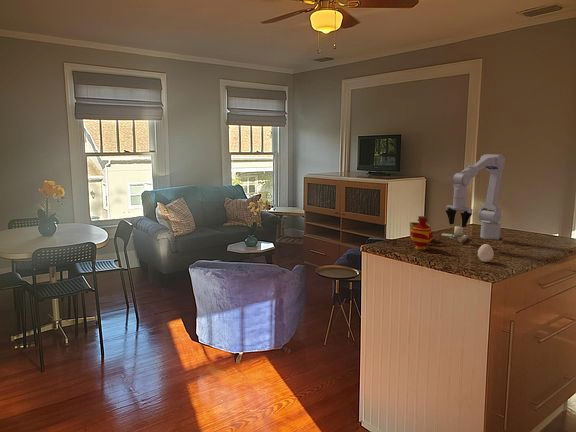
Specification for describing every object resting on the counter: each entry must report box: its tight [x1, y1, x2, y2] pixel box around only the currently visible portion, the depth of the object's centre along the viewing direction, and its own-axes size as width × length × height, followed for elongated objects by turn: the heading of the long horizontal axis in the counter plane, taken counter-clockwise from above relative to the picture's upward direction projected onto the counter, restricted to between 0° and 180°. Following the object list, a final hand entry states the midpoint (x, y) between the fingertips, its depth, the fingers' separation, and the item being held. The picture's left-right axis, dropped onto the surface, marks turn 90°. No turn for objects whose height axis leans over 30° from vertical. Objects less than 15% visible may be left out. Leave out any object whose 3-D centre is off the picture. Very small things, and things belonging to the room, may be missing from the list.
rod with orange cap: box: [456, 234, 469, 242], centre depth 223 cm, size 14×2×2 cm, turn 145°
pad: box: [441, 233, 454, 237], centre depth 239 cm, size 5×5×1 cm
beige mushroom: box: [451, 225, 464, 239], centre depth 232 cm, size 6×6×6 cm
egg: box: [477, 243, 494, 263], centre depth 188 cm, size 6×6×8 cm
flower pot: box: [409, 221, 431, 234], centre depth 226 cm, size 9×9×9 cm
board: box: [448, 236, 468, 241], centre depth 231 cm, size 14×20×2 cm
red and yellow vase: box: [409, 215, 434, 250], centre depth 210 cm, size 10×10×15 cm
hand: (457, 225), depth 220 cm, fingers open, 7 cm apart
